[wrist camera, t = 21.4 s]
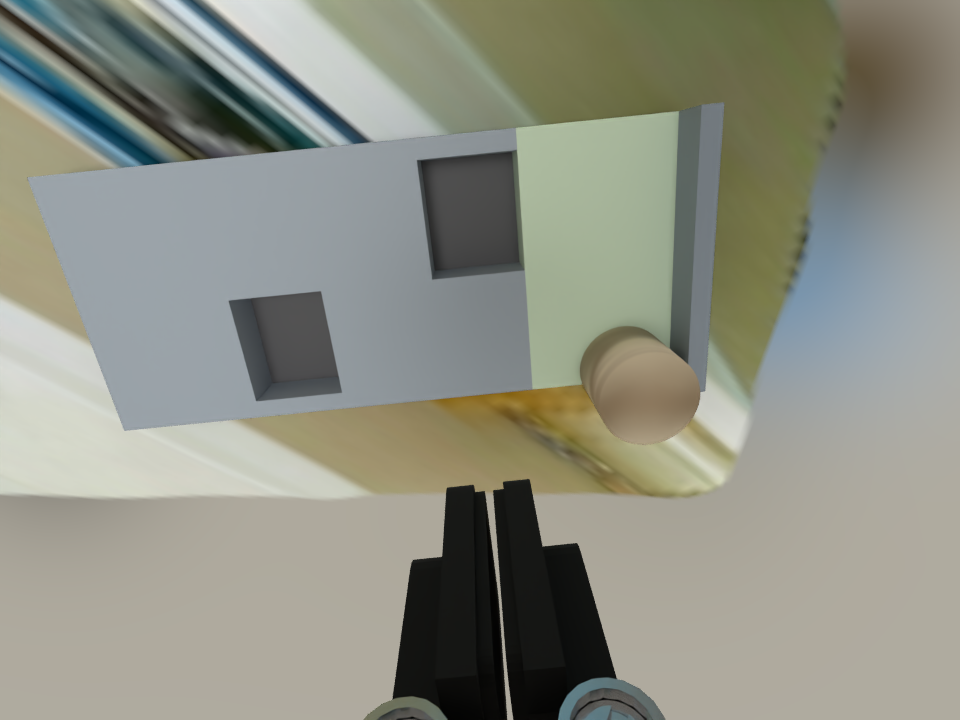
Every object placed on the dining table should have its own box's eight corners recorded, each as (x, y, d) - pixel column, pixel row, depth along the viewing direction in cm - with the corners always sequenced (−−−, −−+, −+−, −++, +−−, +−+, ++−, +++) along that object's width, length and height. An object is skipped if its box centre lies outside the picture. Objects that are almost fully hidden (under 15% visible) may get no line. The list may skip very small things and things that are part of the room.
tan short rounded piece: (582, 327, 28) (603, 354, 24) (670, 325, 28) (707, 351, 24) (577, 407, 30) (596, 446, 26) (660, 405, 30) (693, 443, 26)
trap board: (71, 177, 28) (-19, 177, 22) (674, 115, 27) (724, 102, 22) (153, 408, 32) (95, 452, 27) (666, 356, 32) (705, 391, 27)
